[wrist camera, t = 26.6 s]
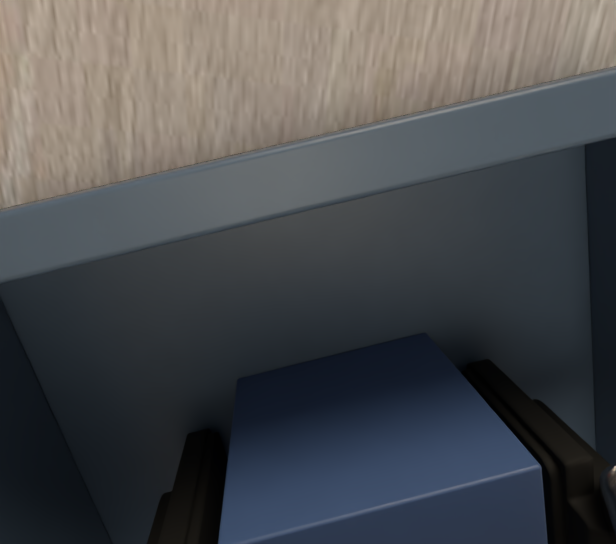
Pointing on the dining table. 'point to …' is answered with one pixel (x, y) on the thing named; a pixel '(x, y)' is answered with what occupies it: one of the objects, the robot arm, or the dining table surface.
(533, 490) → the blue block
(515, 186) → the slate bin
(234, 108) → the dining table surface
